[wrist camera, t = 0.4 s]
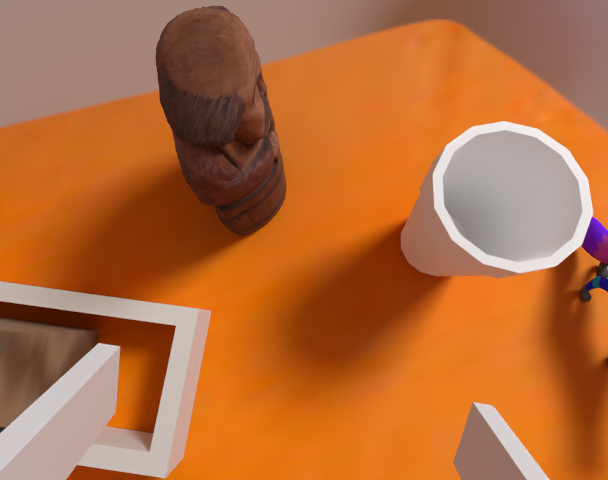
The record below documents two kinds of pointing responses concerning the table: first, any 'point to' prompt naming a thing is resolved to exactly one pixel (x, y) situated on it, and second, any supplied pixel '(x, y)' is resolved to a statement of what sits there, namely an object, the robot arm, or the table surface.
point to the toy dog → (596, 256)
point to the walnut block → (36, 360)
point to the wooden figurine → (221, 116)
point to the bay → (177, 386)
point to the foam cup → (498, 205)
